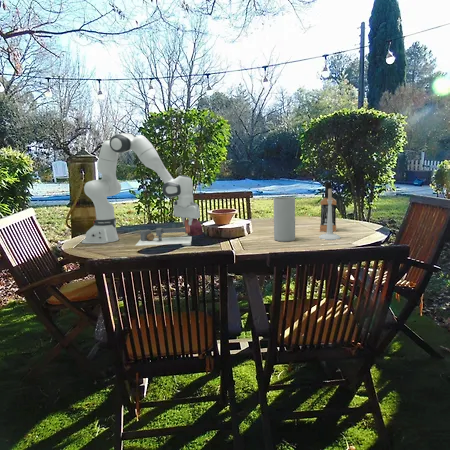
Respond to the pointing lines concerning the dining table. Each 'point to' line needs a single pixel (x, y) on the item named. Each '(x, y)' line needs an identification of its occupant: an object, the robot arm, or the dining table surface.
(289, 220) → the cylinder vase
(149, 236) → the brown ball
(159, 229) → the lever
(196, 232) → the vegetable
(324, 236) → the candlestick
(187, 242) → the board
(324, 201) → the whiskey bottle
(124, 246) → the dining table surface
